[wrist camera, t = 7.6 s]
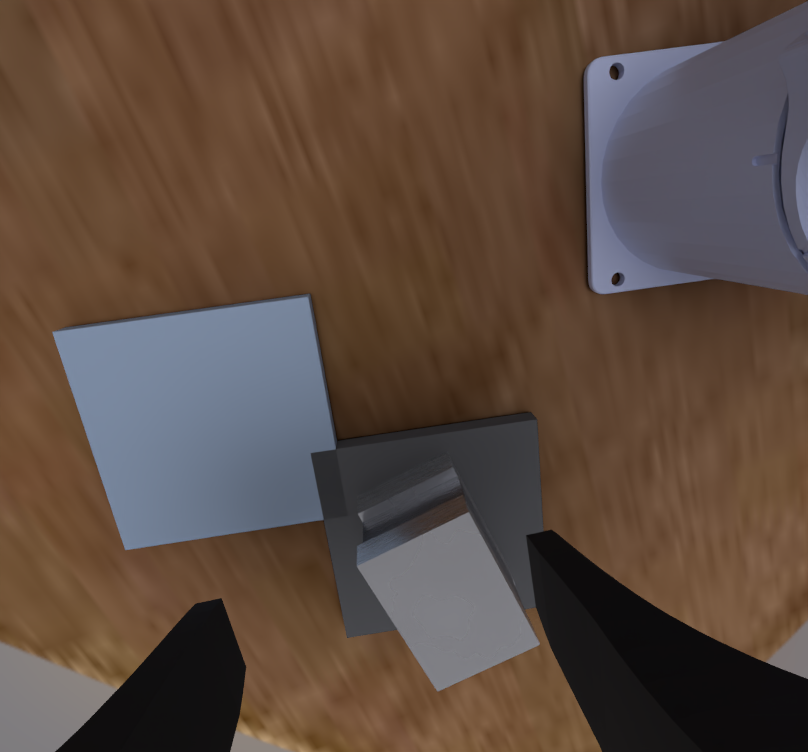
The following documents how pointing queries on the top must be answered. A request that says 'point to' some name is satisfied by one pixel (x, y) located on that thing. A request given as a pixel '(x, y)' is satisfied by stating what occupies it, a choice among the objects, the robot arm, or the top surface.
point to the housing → (441, 573)
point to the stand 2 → (478, 468)
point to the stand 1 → (204, 417)
